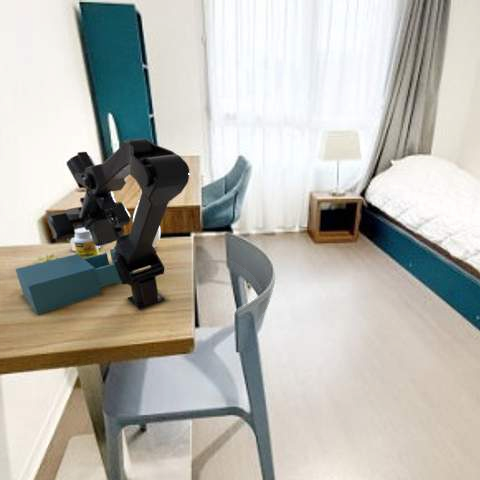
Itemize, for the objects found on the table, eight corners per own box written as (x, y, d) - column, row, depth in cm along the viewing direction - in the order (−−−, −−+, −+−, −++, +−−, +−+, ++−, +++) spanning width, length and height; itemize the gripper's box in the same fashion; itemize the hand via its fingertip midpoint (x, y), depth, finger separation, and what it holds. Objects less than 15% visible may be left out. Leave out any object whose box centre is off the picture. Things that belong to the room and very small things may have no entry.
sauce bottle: (132, 247, 116) (122, 191, 108) (155, 242, 121) (147, 187, 113) (143, 255, 111) (133, 196, 103) (166, 248, 115) (159, 191, 107)
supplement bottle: (76, 268, 101) (68, 233, 97) (83, 260, 106) (75, 227, 102) (98, 267, 102) (90, 233, 98) (103, 259, 107) (96, 226, 103)
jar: (108, 244, 118) (100, 207, 113) (90, 253, 111) (82, 215, 106) (84, 241, 120) (76, 205, 115) (65, 250, 113) (56, 212, 108)
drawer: (132, 262, 103) (129, 245, 101) (149, 274, 97) (146, 255, 94) (69, 280, 93) (63, 261, 91) (83, 295, 86) (78, 275, 84)
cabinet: (83, 278, 96) (77, 253, 93) (100, 294, 89) (94, 267, 85) (24, 295, 88) (15, 269, 84) (37, 314, 80) (28, 286, 77)
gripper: (70, 241, 81) (63, 271, 92) (147, 223, 93) (132, 251, 105) (48, 199, 82) (43, 234, 93) (127, 187, 95) (114, 219, 106)
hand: (86, 235), depth 99 cm, fingers open, 9 cm apart
